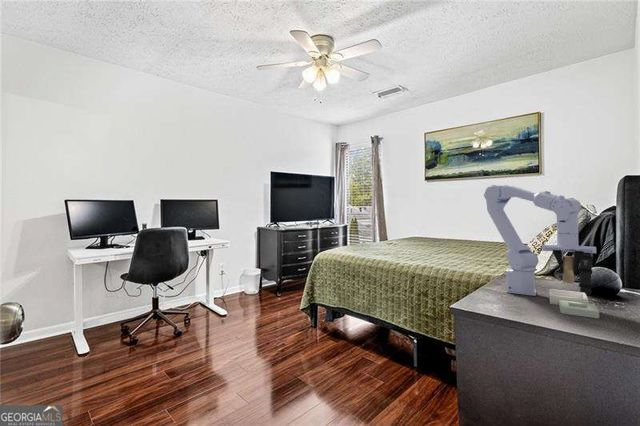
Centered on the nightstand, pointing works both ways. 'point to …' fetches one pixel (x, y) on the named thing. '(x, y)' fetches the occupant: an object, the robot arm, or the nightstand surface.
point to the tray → (566, 296)
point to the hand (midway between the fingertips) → (568, 272)
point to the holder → (578, 309)
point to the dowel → (568, 269)
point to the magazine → (585, 273)
